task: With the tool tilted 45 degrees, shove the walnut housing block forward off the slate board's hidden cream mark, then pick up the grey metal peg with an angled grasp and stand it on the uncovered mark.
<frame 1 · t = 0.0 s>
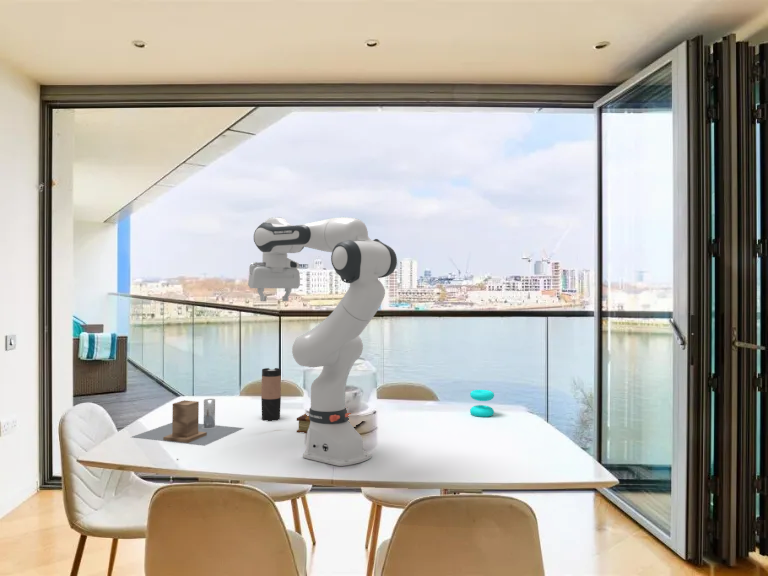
hand: (274, 301, 200), 48 cm above the table, tool pointing down, fingers open, 8 cm apart
travel mug: (270, 419, 222), on the table
board: (189, 435, 196), on the table
peg: (209, 426, 204), point 1 cm above the table, touching board
housing: (185, 437, 190), point 1 cm above the table, touching board
donuts: (481, 415, 233), on the table
diary: (331, 428, 211), on the table
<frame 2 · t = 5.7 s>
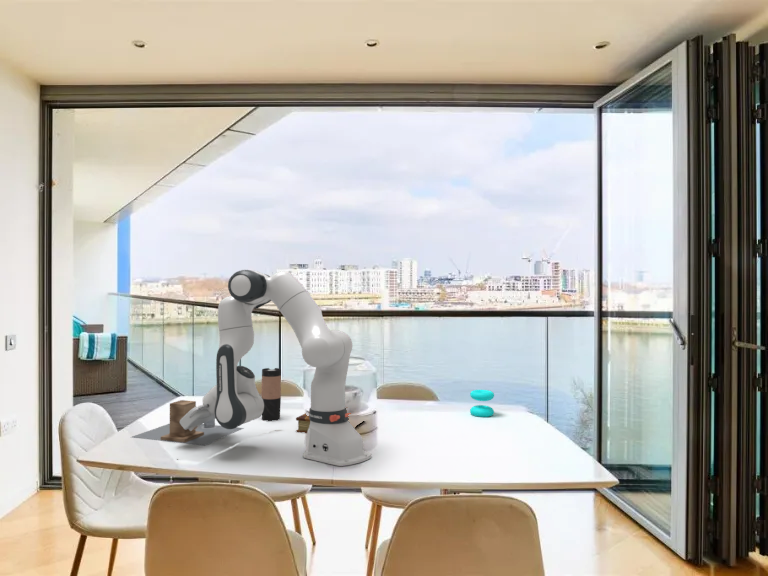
hand: (191, 428, 189), 4 cm above the table, tool tilted 45°, fingers closed, pressing on housing
housing: (182, 437, 190), point 1 cm above the table, touching gripper
everything else where it was.
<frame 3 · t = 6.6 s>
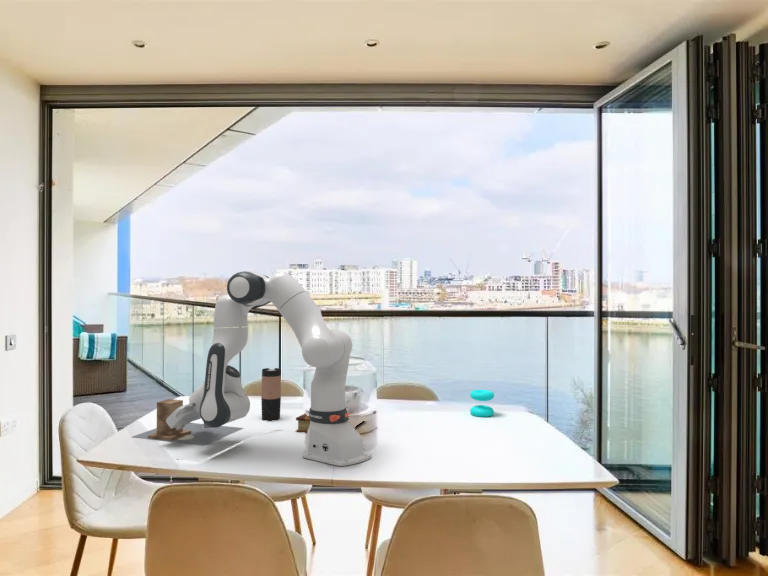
hand: (178, 427, 191), 4 cm above the table, tool tilted 45°, fingers closed, pressing on housing
housing: (169, 435, 192), point 1 cm above the table, touching board, gripper
everything else where it was.
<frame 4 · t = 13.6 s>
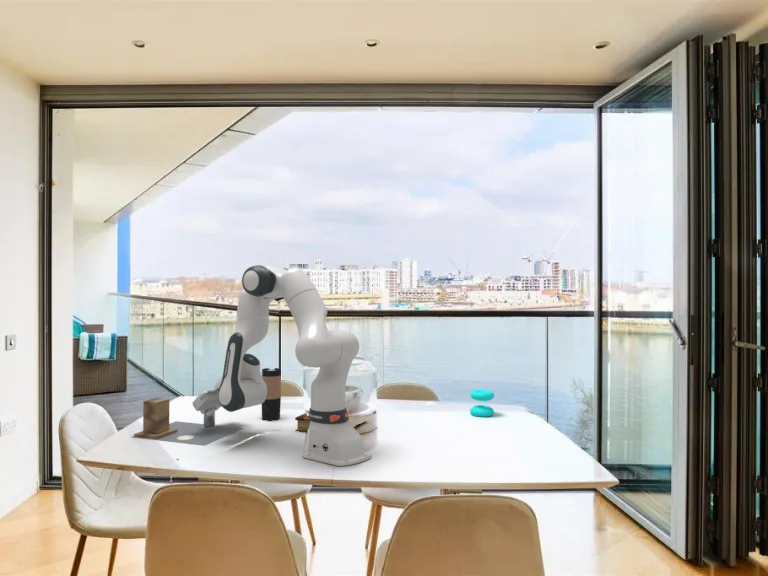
hand: (208, 411, 205), 7 cm above the table, tool tilted 45°, fingers closed on peg, 4 cm apart
peg: (209, 426, 204), point 1 cm above the table, touching board, gripper
housing: (156, 434, 194), point 1 cm above the table, touching board
everything else where it was.
when the fingers open (8 cm above the table, at t = 18.5 s): peg drops 1 cm, resting on board.
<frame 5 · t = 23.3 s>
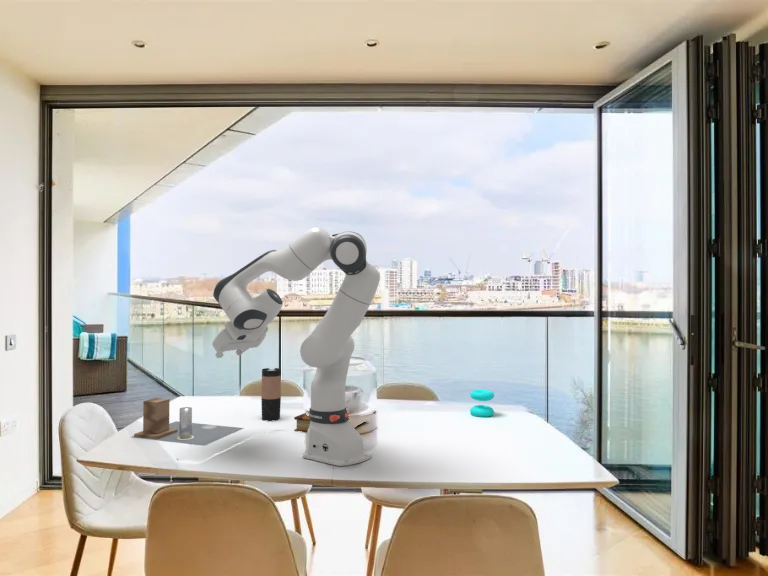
hand: (228, 355, 191), 29 cm above the table, tool tilted 45°, fingers open, 8 cm apart
peg: (185, 437, 190), point 1 cm above the table, touching board
at the end: peg 0.1 cm from the target spot, point 1.1 cm above the table; peg tilted 0°; housing moved 12.2 cm from its start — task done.
